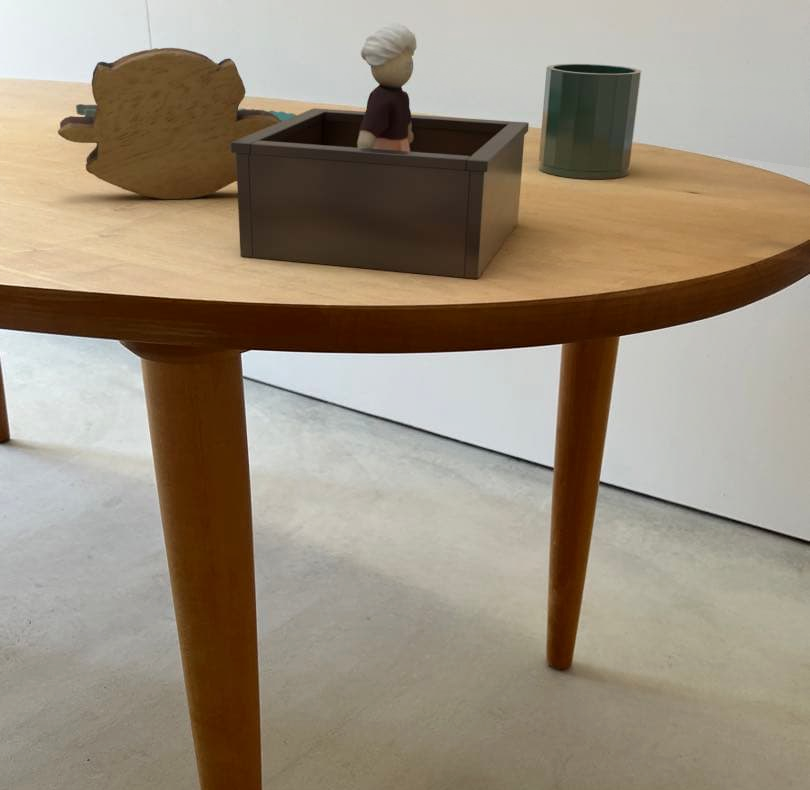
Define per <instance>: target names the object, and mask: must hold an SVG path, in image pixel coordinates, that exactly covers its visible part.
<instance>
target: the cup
mask: <svg viewBox="0 0 810 790" xmlns="http://www.w3.org/2000/svg"><path fill="white" fill-rule="evenodd" d="M641 78H642V70H641V69H637V68H635V67H628V66H623V65H610V64H595V63H559V64H551V65H548V66H547V67H546V71H545V80H544V81H545V82H544V92H543V106H542V107H543V108H542V117H541V128H540V129H541V130H540V133H541V134H540V144H539V154H538V157H539V158H538V162H539V163H538V169H539V170H540V171H542V172H544V173H546V174H548V175H553V176H558V177H562V178H570V179H583V180H609V179H611V180H612V179H618V178H623V177H626V176H628V175H629V174H630V166H631V163H632V155H633V146H634V137H635V130H636V129H635V128H636V121H637V113H638V103H639V97H640V96H639V95H640V86H641V80H642V79H641Z"/></svg>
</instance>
